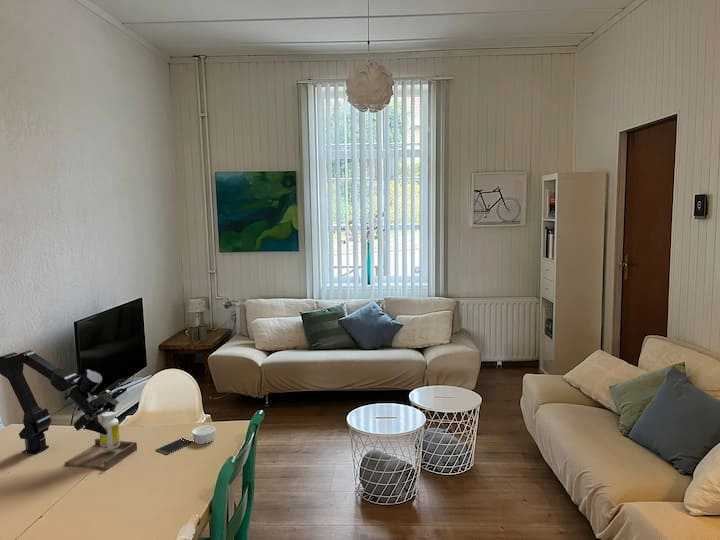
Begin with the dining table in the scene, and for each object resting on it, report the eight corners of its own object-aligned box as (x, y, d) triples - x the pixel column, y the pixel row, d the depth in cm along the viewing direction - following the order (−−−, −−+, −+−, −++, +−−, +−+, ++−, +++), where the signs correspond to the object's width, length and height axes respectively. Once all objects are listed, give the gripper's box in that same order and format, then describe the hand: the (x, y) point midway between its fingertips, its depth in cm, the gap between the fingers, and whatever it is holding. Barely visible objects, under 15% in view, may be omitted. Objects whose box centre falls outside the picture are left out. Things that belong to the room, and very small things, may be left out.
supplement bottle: (120, 441, 194) (118, 409, 193) (119, 448, 188) (117, 415, 187) (100, 445, 192) (98, 412, 191) (99, 452, 186) (97, 418, 184)
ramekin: (220, 438, 203) (220, 428, 203) (203, 447, 196) (202, 436, 195) (205, 434, 208) (204, 423, 207) (187, 442, 200) (187, 431, 200)
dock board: (64, 465, 183) (64, 457, 183) (97, 445, 198) (96, 438, 198) (107, 469, 179) (106, 461, 178) (137, 449, 194) (136, 442, 194)
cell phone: (197, 442, 201) (197, 440, 201) (166, 456, 189) (166, 454, 189) (185, 438, 205) (185, 436, 205) (154, 451, 193) (154, 449, 193)
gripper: (78, 394, 179) (109, 426, 178) (112, 378, 197) (140, 406, 197) (60, 414, 181) (90, 446, 181) (96, 396, 200) (123, 425, 199)
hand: (112, 430), depth 189 cm, fingers closed on supplement bottle, 7 cm apart
